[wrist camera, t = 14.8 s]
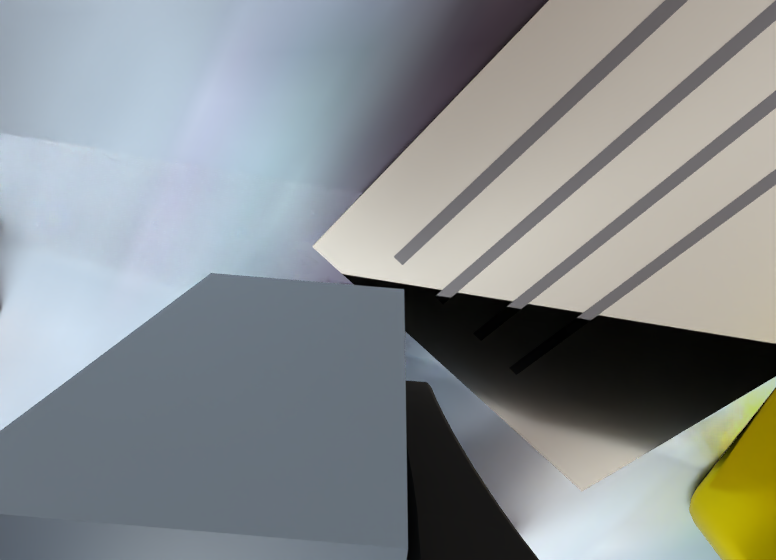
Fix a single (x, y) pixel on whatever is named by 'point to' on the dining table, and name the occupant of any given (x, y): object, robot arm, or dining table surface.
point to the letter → (592, 226)
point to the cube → (223, 434)
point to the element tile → (742, 493)
